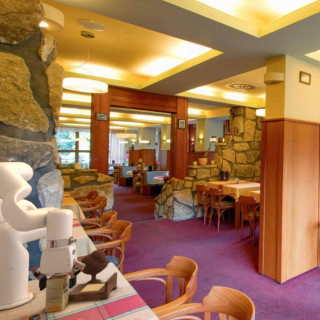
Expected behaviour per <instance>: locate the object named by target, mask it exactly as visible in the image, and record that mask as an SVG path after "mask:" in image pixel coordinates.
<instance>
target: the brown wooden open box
mask: <svg viewBox="0 0 320 320" xmlns="http://www.w3.org/2000/svg"><path fill="white" fill-rule="evenodd" d="M116 289H118V272H117V271H116V272H114V273H113V274H112V275H111V276H110V277H108V278H107V279H106V280H105V281H103V282H102V281H101V282H100V283H87V282H86V283H79V284H77V285H76V286H74V287H73V288H72V290H71V291H69V292H68V303H75V302H88V301H89V302H90V301H99V300H101V301H102V300H108V299H109V297H110V292H111V291H115V290H116Z"/></svg>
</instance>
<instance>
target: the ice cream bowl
mask: <svg viewBox="0 0 320 320" xmlns="http://www.w3.org/2000/svg"><path fill="white" fill-rule="evenodd" d="M80 262H81V263H84V264H85V265H86V266H85V267H84V269H83V270H82V271H81V272H82V273H83V274H84V275H88V276H91V277H90V280H88V281H87V282H86V283H100V282H102V281H101V279H99V278H97V275H98V274H100V273H101V272H103V271H104V270H105V269H107V267H108V265H109V262H110V260H109V259H108V258H107V256H106V253H105V251H104V250H102V249H96V250H93V251H92V252H91V253H88V254H86V255H84V256H83V258H81V261H80Z"/></svg>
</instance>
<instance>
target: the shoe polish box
mask: <svg viewBox="0 0 320 320" xmlns="http://www.w3.org/2000/svg"><path fill="white" fill-rule="evenodd" d="M69 279H70V275H69V274H68V273H58V274H51V276H49V277H47V281H46V288H45V313H52V312H61V311H63V310H64V309H65V308H66V307H67V306H68V305H69V302H68V293H69V292H70V291H69Z"/></svg>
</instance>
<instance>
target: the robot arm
mask: <svg viewBox="0 0 320 320" xmlns="http://www.w3.org/2000/svg"><path fill="white" fill-rule="evenodd" d="M33 176H34V170H33V168H32V167H31V166H30V165H29V164H28V163H26V162H23V161H0V197H1V198H0V311H3V310H8V309H13V308H17V307H19V306H22V305H24V304H27V303H29V302H30V301H32V299H33V298H34V293H33V292H30V291H29V275H30V274H29V270H30V272H31V273H32V275H33V276H34V277H35V278H36V279H37V281H38V288H39V292H42V291H45V290H46V281H47V279H48V276H47V275H54V274H66V273H68V274H69V289H70V290H71V289H74V288H75V287H76V286H77V283H78V282H77V279H78V278H77V276H79V274H80V273H81V272H82V270H83V269H84V267H85V266H86V265H85V264H84V263H81V261H79V260H78V252H77V248H76V247H77V246H76V244H75V243H77V238H74V236H73V230H74V229H73V228H74V227H73V225H74V211H73V210H72V209H69V208H58V207H54V206H47V207H40V208H37V207H36V206H35V204H34V203H32V201H29V200H28V199H25V198H27V197H28V196H29V195H30V194H31V193H32V191H33V190H32V189H33V188H32V186H31V185H30V184H29V183H28V182H29V181H30V180H31V179H32V178H33ZM2 198H3V199H2ZM43 238H45V246H44V247H43V249H42V252H41V255H40V261H39V263H38V264H36V265H34V266H32V267H30V254H29V251H28V249H26V248H25V246H24V245H23V244H27V243H30V242H34V241H37V240H40V239H43ZM38 269H39V270H38Z"/></svg>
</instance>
